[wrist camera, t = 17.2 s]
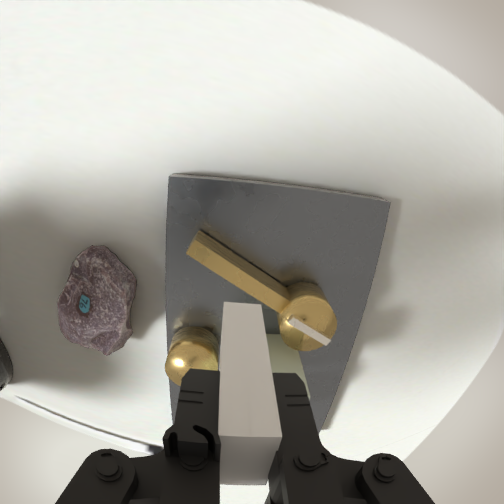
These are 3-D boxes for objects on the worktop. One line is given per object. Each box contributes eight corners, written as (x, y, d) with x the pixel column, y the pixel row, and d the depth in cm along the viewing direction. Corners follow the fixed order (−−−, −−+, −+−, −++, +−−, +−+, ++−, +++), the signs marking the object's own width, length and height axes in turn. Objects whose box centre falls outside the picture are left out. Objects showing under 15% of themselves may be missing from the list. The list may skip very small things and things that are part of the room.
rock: (149, 258, 30) (135, 277, 26) (132, 343, 34) (121, 368, 30) (79, 234, 29) (58, 249, 25) (72, 321, 33) (55, 342, 28)
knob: (336, 299, 30) (350, 324, 26) (303, 334, 31) (312, 363, 27) (211, 212, 27) (205, 227, 22) (179, 257, 28) (170, 279, 23)
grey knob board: (175, 425, 39) (170, 458, 33) (173, 173, 27) (157, 182, 22) (313, 431, 40) (320, 462, 35) (381, 198, 29) (411, 212, 23)
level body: (231, 365, 33) (231, 434, 24) (235, 331, 31) (235, 400, 22) (286, 368, 33) (299, 435, 24) (293, 335, 32) (311, 402, 23)
